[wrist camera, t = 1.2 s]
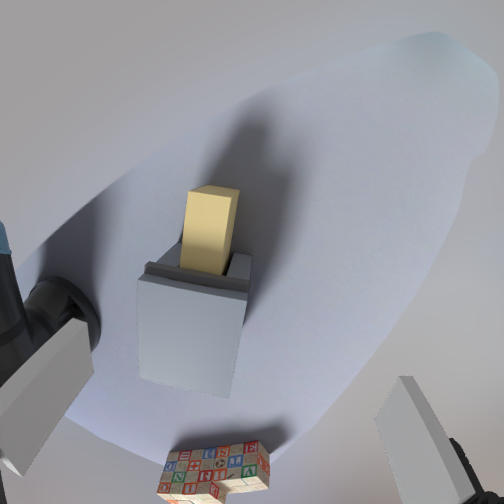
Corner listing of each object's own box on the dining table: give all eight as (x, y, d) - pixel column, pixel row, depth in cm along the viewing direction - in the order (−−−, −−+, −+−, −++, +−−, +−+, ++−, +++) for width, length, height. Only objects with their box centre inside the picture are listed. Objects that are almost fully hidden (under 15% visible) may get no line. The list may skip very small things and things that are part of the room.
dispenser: (171, 320, 41) (139, 378, 28) (178, 236, 38) (137, 271, 25) (238, 334, 41) (228, 398, 28) (253, 249, 38) (248, 292, 25)
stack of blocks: (258, 439, 49) (257, 489, 37) (270, 454, 50) (270, 501, 38) (168, 451, 52) (155, 494, 40) (182, 465, 53) (172, 506, 41)
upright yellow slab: (194, 287, 40) (175, 323, 30) (208, 184, 36) (188, 191, 26) (223, 293, 40) (211, 331, 30) (239, 189, 36) (231, 197, 26)
